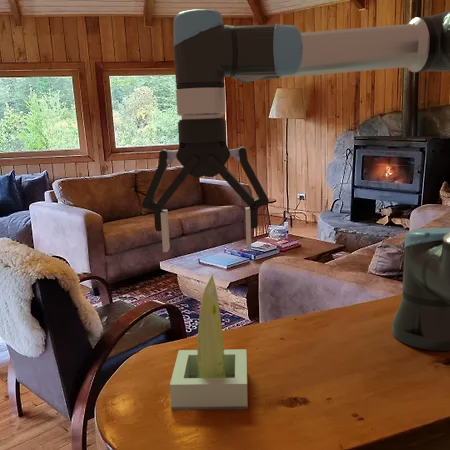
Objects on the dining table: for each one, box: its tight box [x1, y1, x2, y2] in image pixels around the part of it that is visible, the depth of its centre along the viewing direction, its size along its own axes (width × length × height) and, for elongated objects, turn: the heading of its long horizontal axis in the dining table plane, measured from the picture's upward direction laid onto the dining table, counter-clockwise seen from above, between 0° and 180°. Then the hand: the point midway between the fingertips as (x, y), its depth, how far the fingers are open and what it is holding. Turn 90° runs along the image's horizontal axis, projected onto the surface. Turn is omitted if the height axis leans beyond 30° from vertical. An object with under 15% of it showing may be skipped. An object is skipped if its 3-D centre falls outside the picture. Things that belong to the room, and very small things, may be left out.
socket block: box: [169, 348, 248, 411], centre depth 91 cm, size 12×12×4 cm
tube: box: [197, 273, 225, 378], centre depth 89 cm, size 6×5×20 cm
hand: (207, 249), depth 86 cm, fingers open, 13 cm apart
